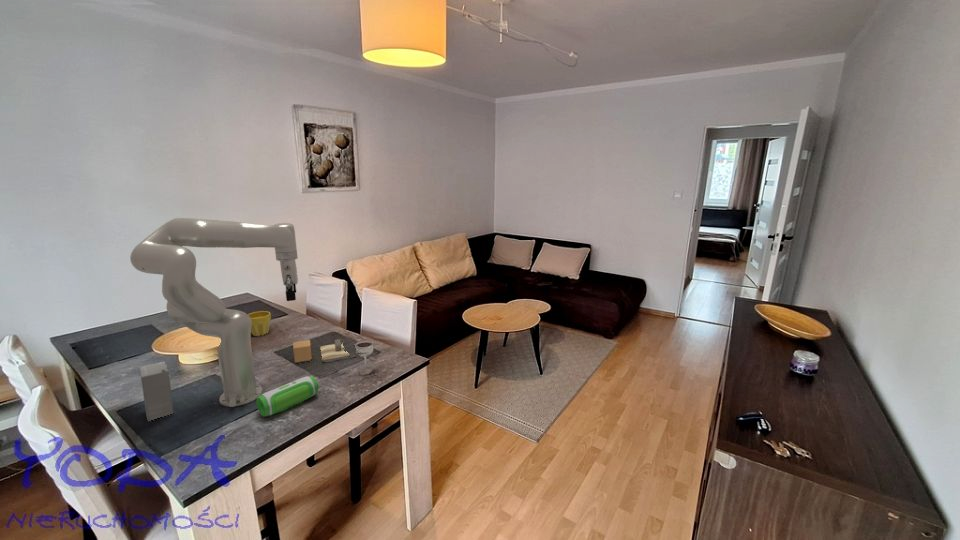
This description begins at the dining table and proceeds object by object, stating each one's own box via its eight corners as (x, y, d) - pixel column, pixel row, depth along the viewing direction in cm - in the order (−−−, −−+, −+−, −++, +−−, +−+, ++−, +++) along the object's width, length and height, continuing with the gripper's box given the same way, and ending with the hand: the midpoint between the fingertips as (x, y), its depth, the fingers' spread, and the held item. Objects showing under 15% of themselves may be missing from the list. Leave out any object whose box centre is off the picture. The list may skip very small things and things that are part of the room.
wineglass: (369, 377, 143) (368, 348, 140) (353, 374, 144) (351, 346, 142) (377, 368, 150) (376, 341, 147) (362, 366, 151) (360, 339, 148)
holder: (357, 357, 159) (357, 344, 157) (322, 363, 153) (321, 350, 151) (353, 344, 171) (352, 331, 170) (320, 349, 165) (319, 337, 163)
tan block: (312, 361, 154) (310, 345, 153) (294, 364, 152) (293, 348, 150) (311, 354, 160) (309, 339, 158) (294, 357, 157) (293, 342, 155)
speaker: (309, 390, 134) (307, 371, 132) (320, 397, 129) (318, 378, 128) (257, 412, 120) (254, 392, 119) (266, 422, 116) (263, 401, 114)
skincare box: (145, 411, 120) (135, 366, 116) (173, 402, 125) (165, 359, 121) (147, 423, 114) (137, 377, 110) (177, 413, 119) (168, 369, 115)
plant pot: (251, 330, 183) (248, 311, 181) (274, 328, 186) (272, 310, 184) (245, 338, 174) (242, 319, 171) (270, 336, 177) (267, 317, 174)
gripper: (296, 259, 138) (301, 302, 143) (297, 250, 154) (302, 289, 158) (274, 261, 135) (279, 304, 140) (277, 251, 151) (282, 291, 155)
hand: (291, 296), depth 149 cm, fingers open, 9 cm apart
